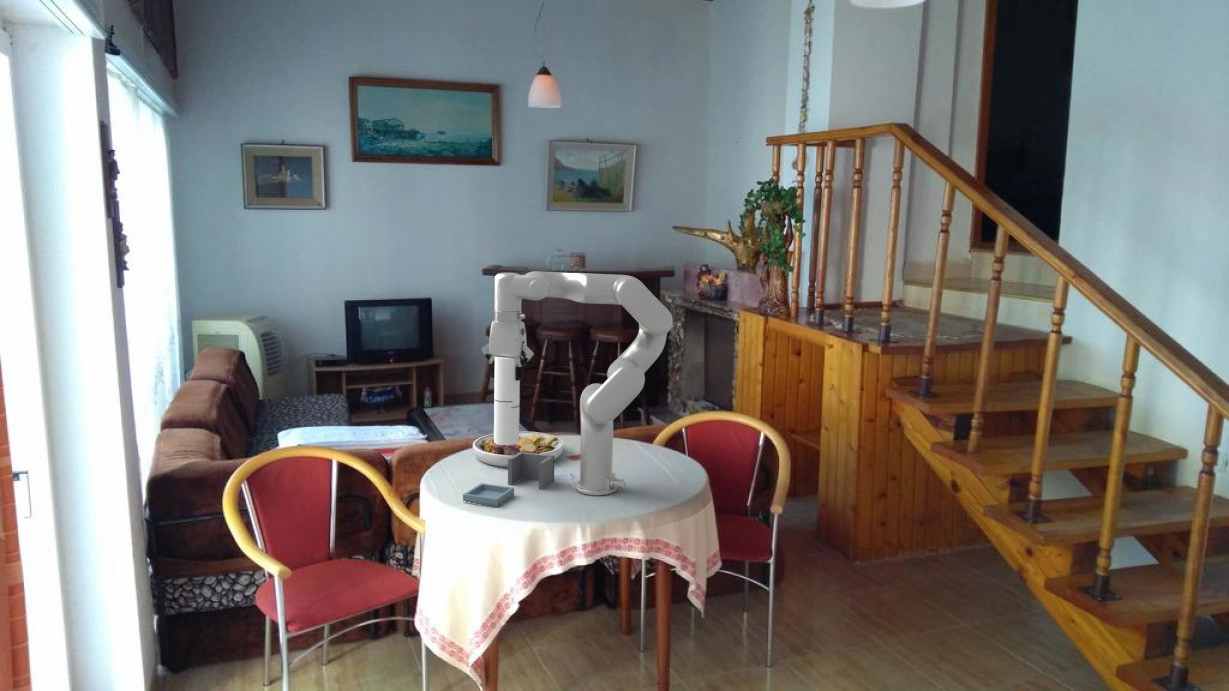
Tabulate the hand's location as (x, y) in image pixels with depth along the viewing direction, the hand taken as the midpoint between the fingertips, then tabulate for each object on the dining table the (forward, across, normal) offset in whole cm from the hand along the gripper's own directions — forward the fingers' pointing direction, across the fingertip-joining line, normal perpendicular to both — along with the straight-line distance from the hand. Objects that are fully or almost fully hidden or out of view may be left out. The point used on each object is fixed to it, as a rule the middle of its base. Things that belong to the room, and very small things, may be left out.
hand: (506, 377), depth 239 cm
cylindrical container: (+19, 0, 0) cm, 19 cm away
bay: (+34, -3, -10) cm, 36 cm away
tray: (+34, +2, +7) cm, 35 cm away
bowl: (+34, +13, -33) cm, 50 cm away
